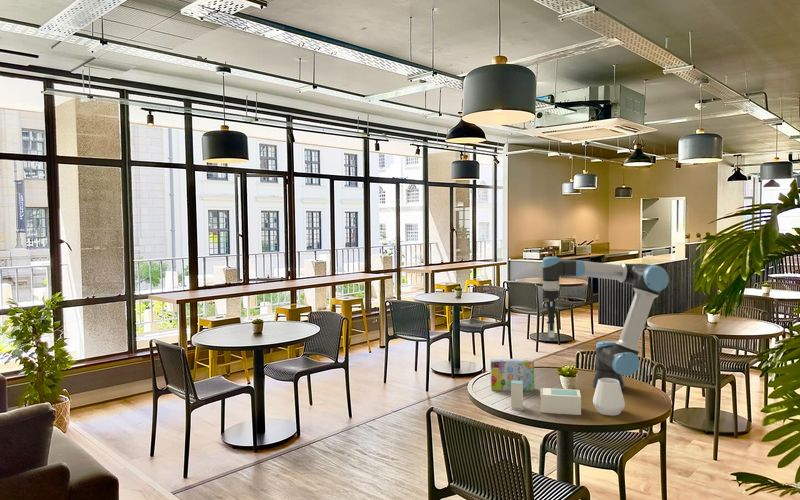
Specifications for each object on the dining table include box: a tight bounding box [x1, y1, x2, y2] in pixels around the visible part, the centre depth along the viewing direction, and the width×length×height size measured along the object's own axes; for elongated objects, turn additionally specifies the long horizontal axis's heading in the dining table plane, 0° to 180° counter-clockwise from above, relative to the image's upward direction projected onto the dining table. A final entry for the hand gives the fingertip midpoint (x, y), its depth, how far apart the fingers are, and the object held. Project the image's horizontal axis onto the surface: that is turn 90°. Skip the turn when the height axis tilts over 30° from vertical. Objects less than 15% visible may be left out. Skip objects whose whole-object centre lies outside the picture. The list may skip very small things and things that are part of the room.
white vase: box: [592, 378, 626, 416], centre depth 244 cm, size 13×13×14 cm
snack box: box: [489, 358, 535, 392], centre depth 279 cm, size 21×6×15 cm, turn 84°
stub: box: [510, 380, 524, 409], centre depth 253 cm, size 5×4×11 cm
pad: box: [509, 407, 524, 411], centre depth 253 cm, size 6×7×1 cm
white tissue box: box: [540, 387, 582, 416], centre depth 248 cm, size 17×10×8 cm, turn 76°
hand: (551, 334), depth 262 cm, fingers open, 13 cm apart
